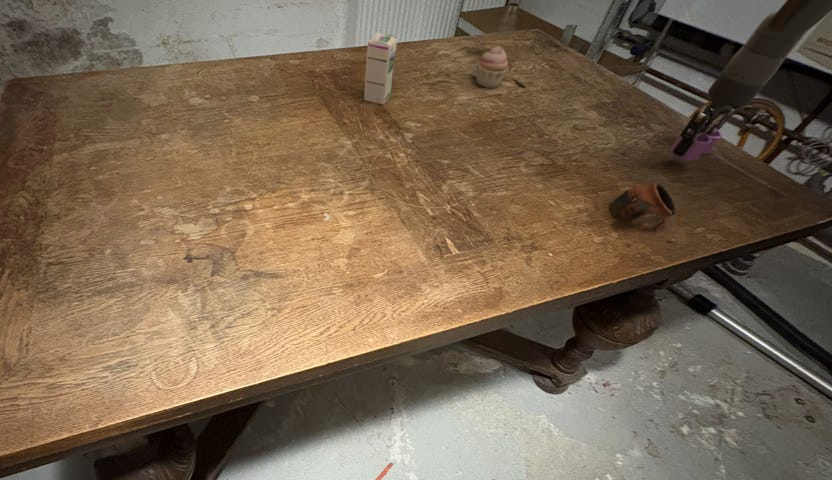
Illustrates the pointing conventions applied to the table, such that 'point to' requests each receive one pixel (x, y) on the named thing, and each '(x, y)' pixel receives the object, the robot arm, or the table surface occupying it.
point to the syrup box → (379, 68)
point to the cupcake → (492, 68)
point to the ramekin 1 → (693, 147)
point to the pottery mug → (644, 203)
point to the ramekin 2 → (713, 141)
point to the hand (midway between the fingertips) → (685, 150)
